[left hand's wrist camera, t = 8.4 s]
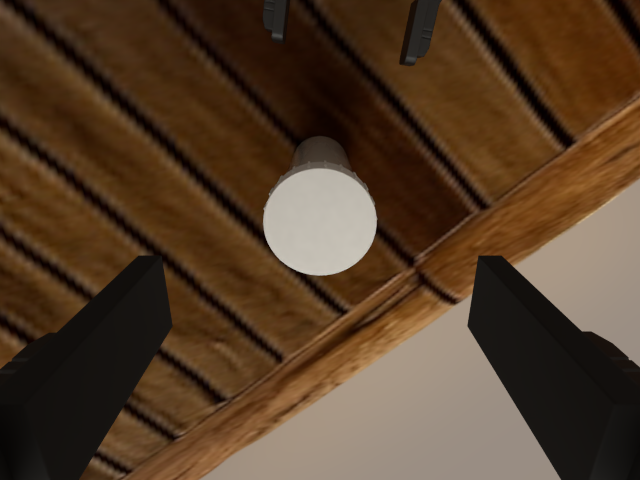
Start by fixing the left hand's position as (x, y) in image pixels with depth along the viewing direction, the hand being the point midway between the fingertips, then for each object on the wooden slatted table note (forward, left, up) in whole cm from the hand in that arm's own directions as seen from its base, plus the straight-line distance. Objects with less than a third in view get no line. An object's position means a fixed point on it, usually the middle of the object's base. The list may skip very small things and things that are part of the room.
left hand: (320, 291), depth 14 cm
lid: (0, 0, -7) cm, 7 cm away
